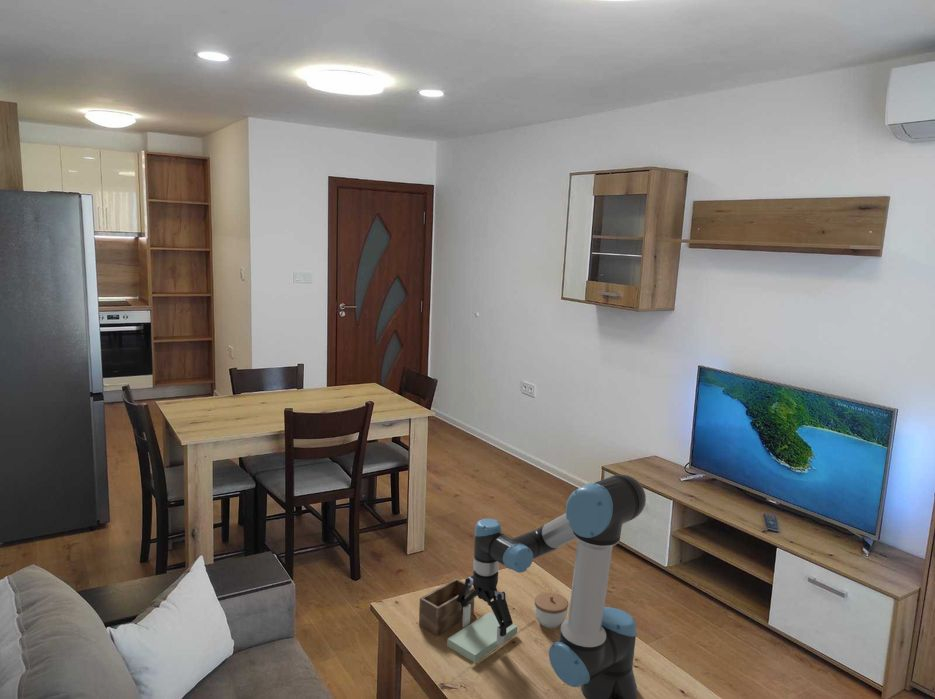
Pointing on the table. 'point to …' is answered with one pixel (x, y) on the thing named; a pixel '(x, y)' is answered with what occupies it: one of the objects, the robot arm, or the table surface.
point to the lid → (478, 637)
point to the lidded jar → (550, 609)
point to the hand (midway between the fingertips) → (482, 634)
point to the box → (443, 607)
